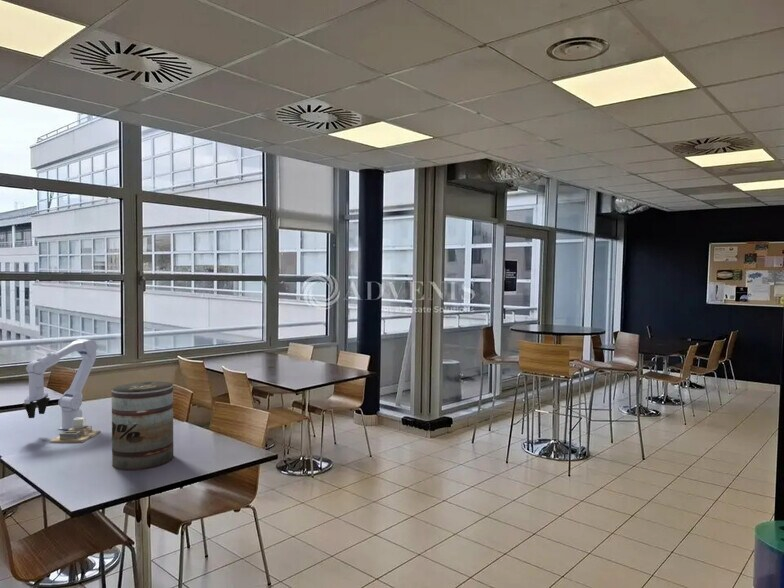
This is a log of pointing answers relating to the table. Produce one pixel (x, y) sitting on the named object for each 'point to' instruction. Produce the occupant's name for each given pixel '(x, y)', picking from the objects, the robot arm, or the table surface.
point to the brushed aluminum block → (79, 423)
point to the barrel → (142, 425)
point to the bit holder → (75, 435)
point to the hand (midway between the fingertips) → (36, 415)
